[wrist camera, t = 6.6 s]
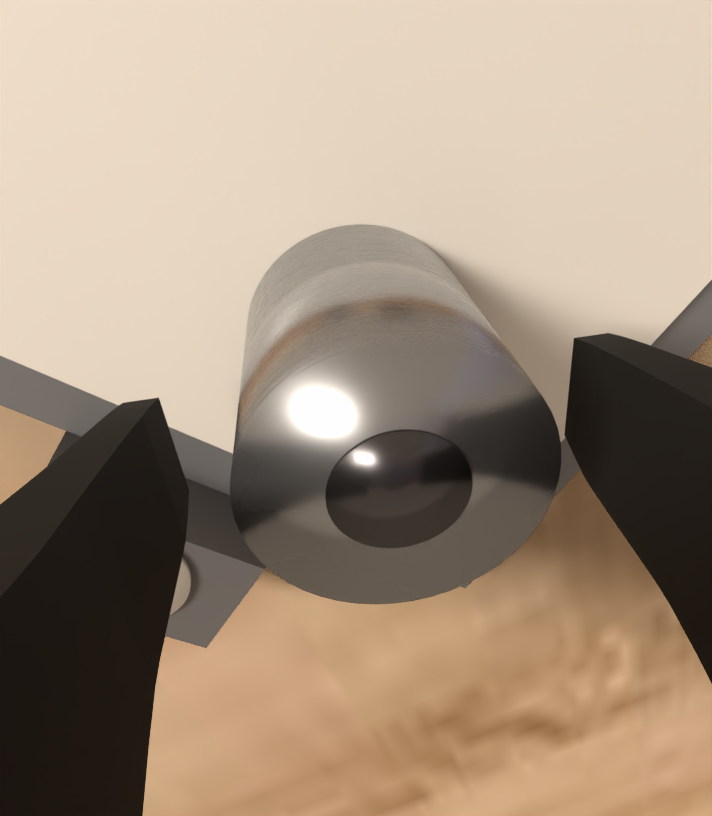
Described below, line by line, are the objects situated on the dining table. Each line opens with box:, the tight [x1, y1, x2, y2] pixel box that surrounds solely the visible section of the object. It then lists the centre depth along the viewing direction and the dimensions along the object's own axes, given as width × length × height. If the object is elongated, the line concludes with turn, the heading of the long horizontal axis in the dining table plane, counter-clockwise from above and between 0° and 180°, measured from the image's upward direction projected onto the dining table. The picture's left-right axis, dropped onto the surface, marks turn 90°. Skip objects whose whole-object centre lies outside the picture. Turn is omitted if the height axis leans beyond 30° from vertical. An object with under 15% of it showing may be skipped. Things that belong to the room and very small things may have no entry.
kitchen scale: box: [0, 0, 712, 648], centre depth 11 cm, size 18×21×3 cm
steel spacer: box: [230, 224, 561, 604], centre depth 10 cm, size 4×4×5 cm
